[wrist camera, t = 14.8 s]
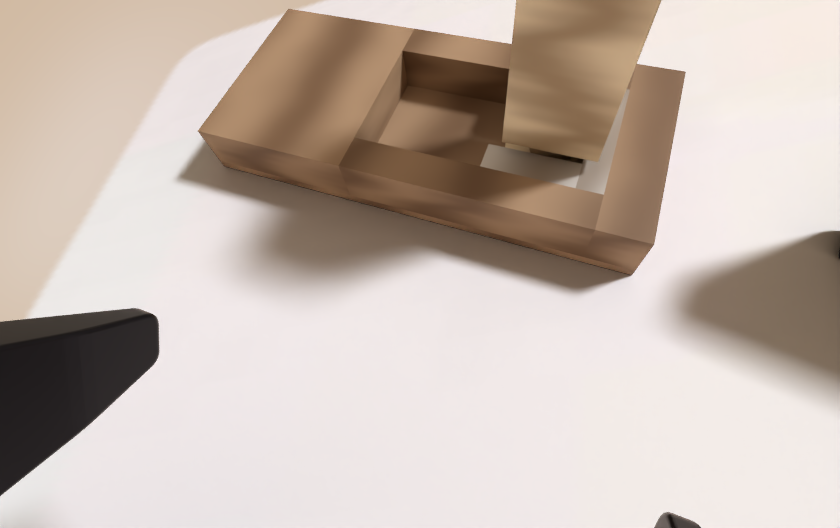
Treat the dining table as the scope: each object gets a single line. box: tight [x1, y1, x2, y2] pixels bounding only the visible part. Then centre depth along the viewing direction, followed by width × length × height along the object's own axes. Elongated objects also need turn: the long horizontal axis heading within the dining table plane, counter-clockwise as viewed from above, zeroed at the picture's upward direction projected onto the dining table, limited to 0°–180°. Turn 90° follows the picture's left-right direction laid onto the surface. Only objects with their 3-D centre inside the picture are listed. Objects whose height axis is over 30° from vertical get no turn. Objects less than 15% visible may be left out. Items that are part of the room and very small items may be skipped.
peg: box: [502, 0, 661, 164], centre depth 19 cm, size 5×5×15 cm
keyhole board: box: [198, 9, 685, 275], centre depth 26 cm, size 24×11×3 cm, turn 69°
